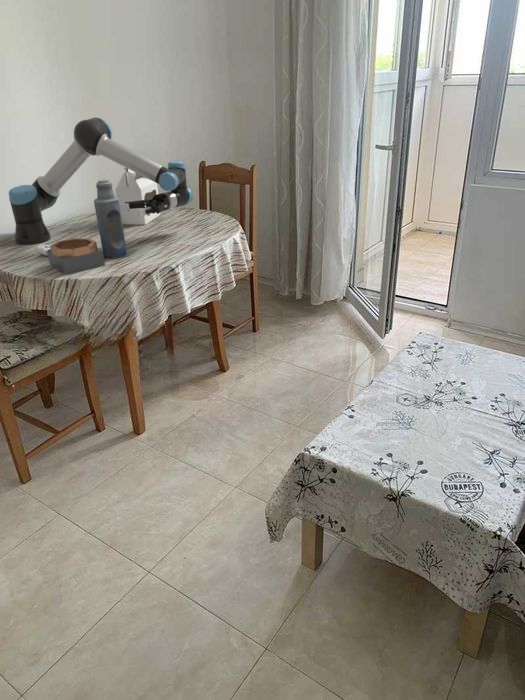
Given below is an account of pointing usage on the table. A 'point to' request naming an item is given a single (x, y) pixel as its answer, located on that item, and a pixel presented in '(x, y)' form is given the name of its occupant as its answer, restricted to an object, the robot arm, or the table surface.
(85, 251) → the copper and grey block
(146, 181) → the gable box
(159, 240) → the table surface
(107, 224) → the bottle
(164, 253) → the table surface
